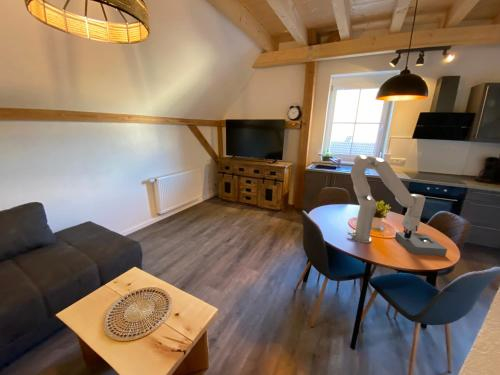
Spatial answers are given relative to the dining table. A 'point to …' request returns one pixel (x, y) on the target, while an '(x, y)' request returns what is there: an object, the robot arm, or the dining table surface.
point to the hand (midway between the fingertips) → (407, 237)
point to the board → (421, 244)
